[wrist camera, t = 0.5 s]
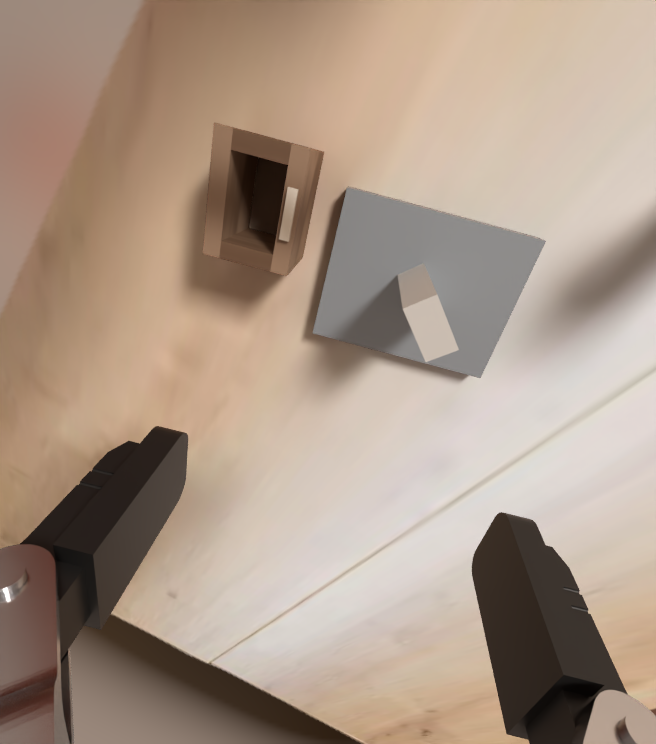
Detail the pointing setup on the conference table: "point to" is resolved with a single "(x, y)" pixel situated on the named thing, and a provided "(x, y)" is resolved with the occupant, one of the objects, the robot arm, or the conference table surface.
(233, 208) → the open cubby box
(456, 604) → the conference table surface
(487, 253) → the base
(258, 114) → the conference table surface
